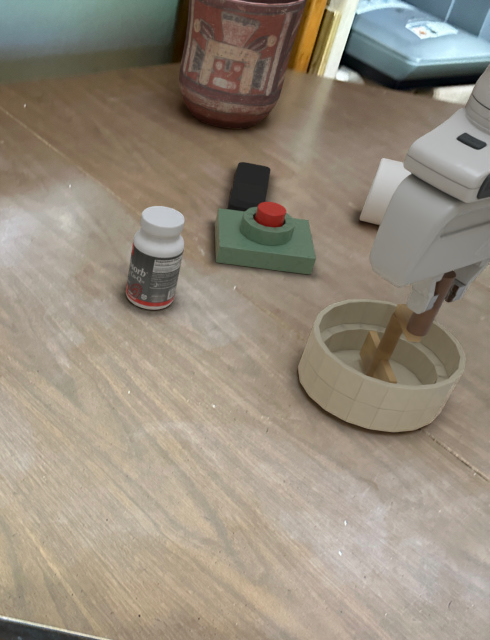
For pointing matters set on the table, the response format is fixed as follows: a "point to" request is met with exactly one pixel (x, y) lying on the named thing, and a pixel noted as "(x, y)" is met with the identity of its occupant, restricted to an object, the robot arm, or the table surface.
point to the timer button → (270, 214)
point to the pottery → (237, 58)
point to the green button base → (263, 242)
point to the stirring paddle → (404, 321)
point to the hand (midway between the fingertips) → (433, 303)
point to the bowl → (370, 393)
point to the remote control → (249, 186)
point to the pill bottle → (156, 258)
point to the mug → (383, 190)
